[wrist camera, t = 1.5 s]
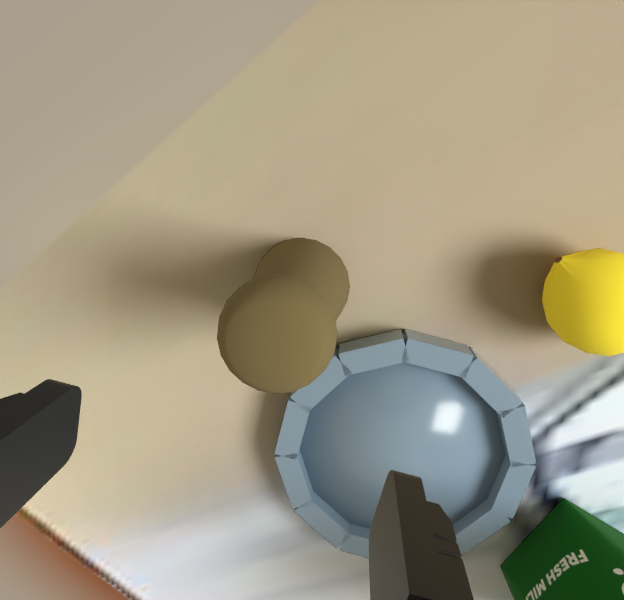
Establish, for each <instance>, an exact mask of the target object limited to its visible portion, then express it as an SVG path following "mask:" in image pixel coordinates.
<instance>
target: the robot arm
mask: <svg viewBox="0 0 624 600" xmlns="http://www.w3.org/2000/svg"><path fill="white" fill-rule="evenodd" d="M80 405H81V389H80V388H79V387H78V386H74V385H70V384H66V383H62V382H59V381H55V380H51V379H48V380H45V381H44V382H42V383H40V384H39V385H37V386H36V387H34V388H33V389H31V390H30V391H28V392H27V393H25V394H23V393H17V394H14V395H11V396H8V397H5V398H2V399H0V528H1V527H2V526H3V525H4V524H5V523H6V522H7V521H8V520H9V519H10V518H11V517H12V516H13V515H14V514H15V513H16V512H17V511H18V510H19V509H20V508H21V507H22V506H24V505H25V504H26V503H27V502H28V501H29V500H30V499H31V498H32V497H33V496H34V495H35V494H36V493H37V492H38V491H39V490H40V489H41V488H42V487H43V486H44V485H45V484H46V483H47V482H48V481H49V480H50V479H51V478H52V477H53V476H54V475H55V474H56V473H57V472H58V471H59V470H60V469H61V468H62V467H63V466H64V465H65V464H66V463H67V461H68V460H69V458H70V456H71V455H72V453H73V450H74V448H75V445H76V441H77V432H78V423H79V414H80ZM456 541H457V539H456V536H455V532H454V529H453V525H452V522H451V520H450V519H449V518H448V516H447V515H446V513H445V512H444V511H443V509H442V508H441V506H440V505H439V504H437V503H433V502H429V501H426V496H425V492H424V487H423V483H422V479H421V478H420V477H417V476H414V475H410V474H406V473H402V472H398V471H395V470H390V471H389V473H388V475H387V478H386V481H385V484H384V487H383V490H382V493H381V496H380V499H379V502H378V505H377V508H376V511H375V514H374V517H373V521H372V525H371V529H370V536H369V572H370V599H371V600H473V596H472V593H471V589H470V585H469V582H468V578H467V575H466V571H465V568H464V564H463V561H462V559H461V553H460V550H459V546H458V544H457V543H456Z"/></svg>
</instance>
